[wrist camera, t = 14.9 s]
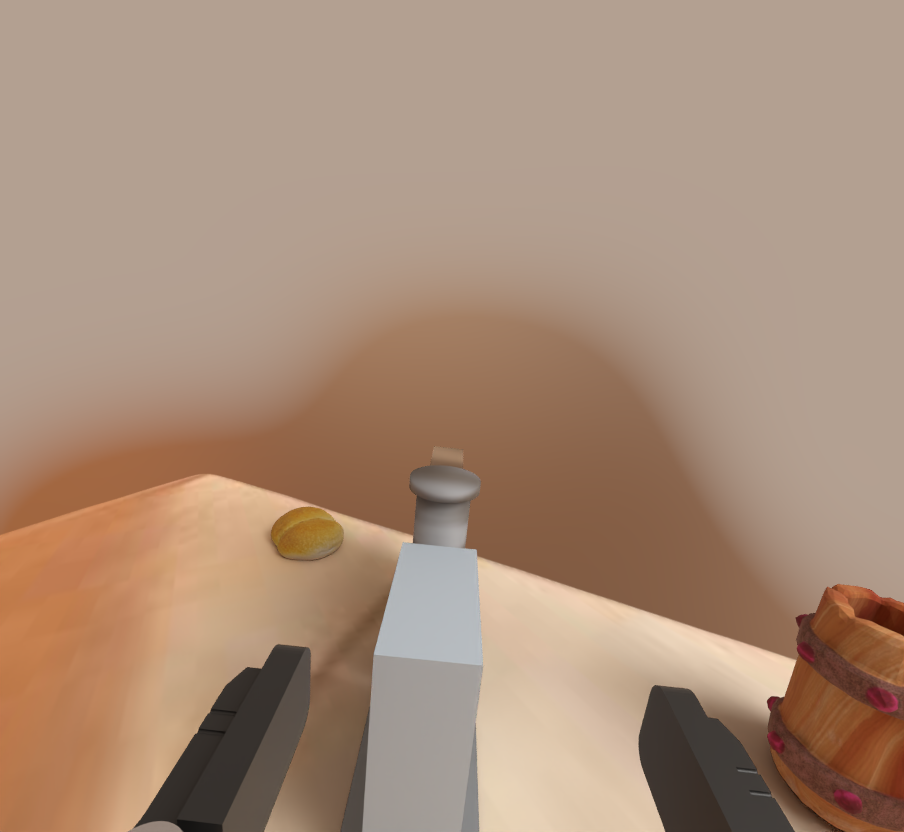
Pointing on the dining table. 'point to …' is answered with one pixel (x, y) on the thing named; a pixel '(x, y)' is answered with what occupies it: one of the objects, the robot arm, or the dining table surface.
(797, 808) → the dining table surface
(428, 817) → the light grey block
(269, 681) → the robot arm
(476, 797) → the seat pad
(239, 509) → the dining table surface
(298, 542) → the bread roll
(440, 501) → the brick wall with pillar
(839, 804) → the mug
